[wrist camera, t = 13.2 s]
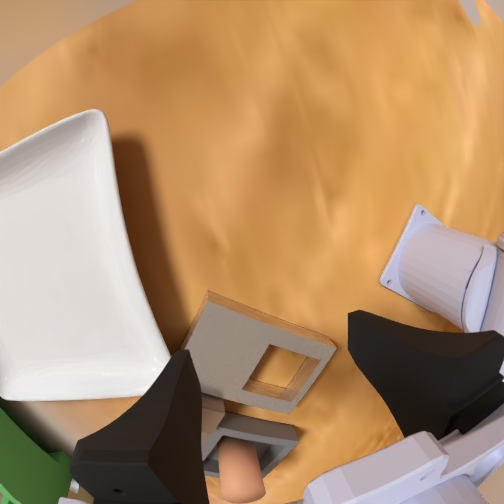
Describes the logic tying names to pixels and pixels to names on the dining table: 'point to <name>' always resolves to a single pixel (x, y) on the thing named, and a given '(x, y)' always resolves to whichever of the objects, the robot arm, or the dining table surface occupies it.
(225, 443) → the dowel
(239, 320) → the grey flat frame
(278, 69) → the dining table surface
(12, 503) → the ramp block with notch
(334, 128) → the dining table surface
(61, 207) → the salad plate
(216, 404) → the block
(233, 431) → the tray
